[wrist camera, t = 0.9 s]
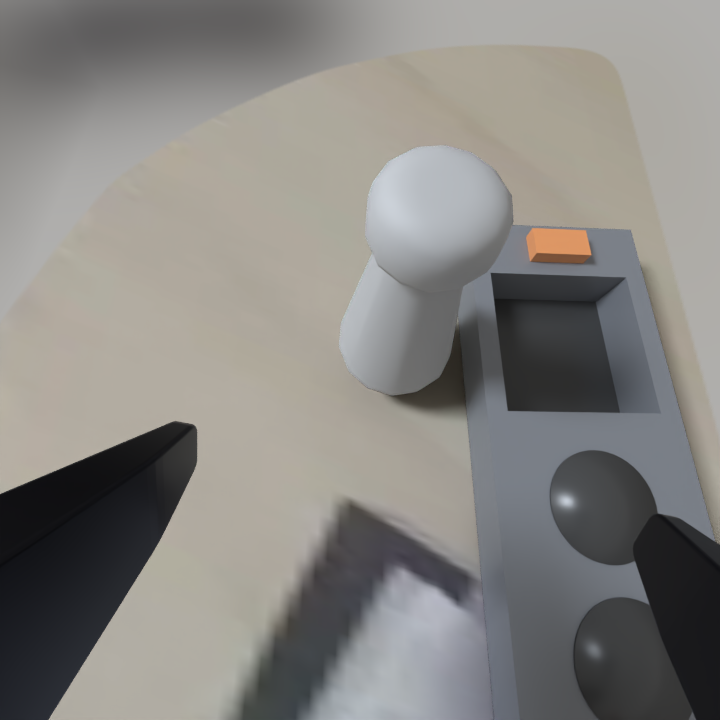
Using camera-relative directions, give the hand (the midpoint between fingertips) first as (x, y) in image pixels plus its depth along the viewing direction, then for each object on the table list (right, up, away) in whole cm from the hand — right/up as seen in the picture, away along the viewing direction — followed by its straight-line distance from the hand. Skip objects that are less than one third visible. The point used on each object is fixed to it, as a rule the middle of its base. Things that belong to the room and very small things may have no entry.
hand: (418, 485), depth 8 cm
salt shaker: (+1, +3, +15) cm, 16 cm away
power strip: (+10, -5, +13) cm, 17 cm away
